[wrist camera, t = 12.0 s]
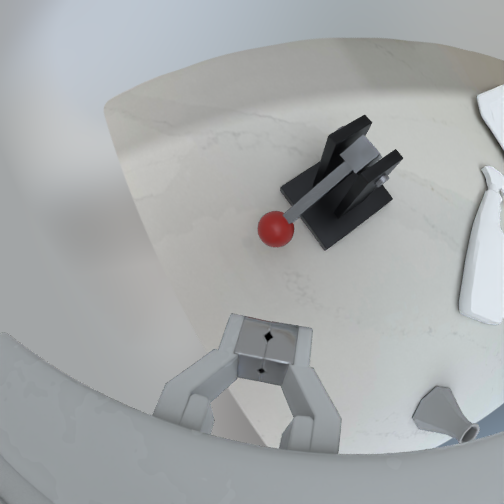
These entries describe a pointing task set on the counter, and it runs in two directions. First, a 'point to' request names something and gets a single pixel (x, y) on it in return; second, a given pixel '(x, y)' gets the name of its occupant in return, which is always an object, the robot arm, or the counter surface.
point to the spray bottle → (485, 258)
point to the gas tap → (342, 188)
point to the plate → (493, 111)
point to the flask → (444, 416)
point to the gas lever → (317, 193)
